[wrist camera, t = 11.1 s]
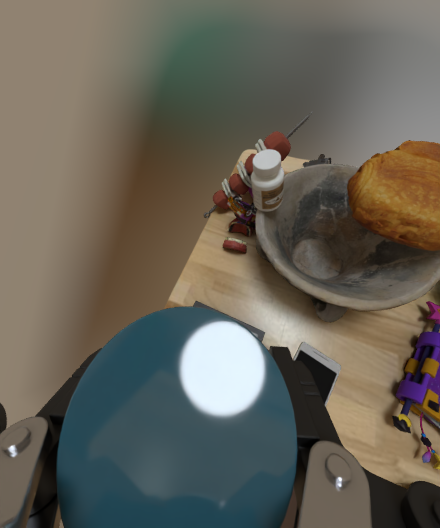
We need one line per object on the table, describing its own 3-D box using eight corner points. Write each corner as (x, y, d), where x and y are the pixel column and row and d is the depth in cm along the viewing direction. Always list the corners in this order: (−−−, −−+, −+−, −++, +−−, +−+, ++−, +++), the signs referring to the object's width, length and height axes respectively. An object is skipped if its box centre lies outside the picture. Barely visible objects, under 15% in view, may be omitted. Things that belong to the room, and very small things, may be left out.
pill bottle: (268, 217, 31) (266, 177, 24) (248, 202, 33) (241, 162, 26) (288, 199, 31) (293, 155, 24) (267, 185, 33) (266, 141, 26)
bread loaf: (352, 186, 22) (319, 223, 30) (507, 259, 20) (428, 280, 27) (395, 108, 26) (356, 158, 34) (530, 160, 23) (454, 202, 31)
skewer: (210, 213, 55) (312, 114, 38) (214, 227, 53) (324, 128, 36) (195, 206, 52) (300, 94, 35) (198, 221, 50) (312, 108, 33)
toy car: (247, 207, 37) (233, 228, 39) (275, 218, 46) (262, 234, 49) (229, 191, 40) (216, 211, 42) (258, 204, 49) (247, 220, 51)
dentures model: (220, 241, 42) (231, 212, 46) (220, 251, 46) (230, 224, 49) (246, 249, 42) (255, 218, 45) (244, 258, 45) (253, 230, 49)
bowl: (319, 198, 51) (351, 140, 38) (409, 285, 41) (497, 246, 27) (226, 244, 47) (225, 196, 33) (300, 356, 36) (342, 351, 23)
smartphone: (259, 426, 32) (260, 428, 32) (301, 341, 38) (303, 340, 37) (301, 461, 30) (303, 464, 30) (339, 366, 36) (342, 366, 35)
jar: (135, 418, 12) (-2, 497, 5) (187, 320, 14) (146, 277, 7) (231, 481, 11) (240, 722, 4) (271, 362, 13) (324, 360, 6)
